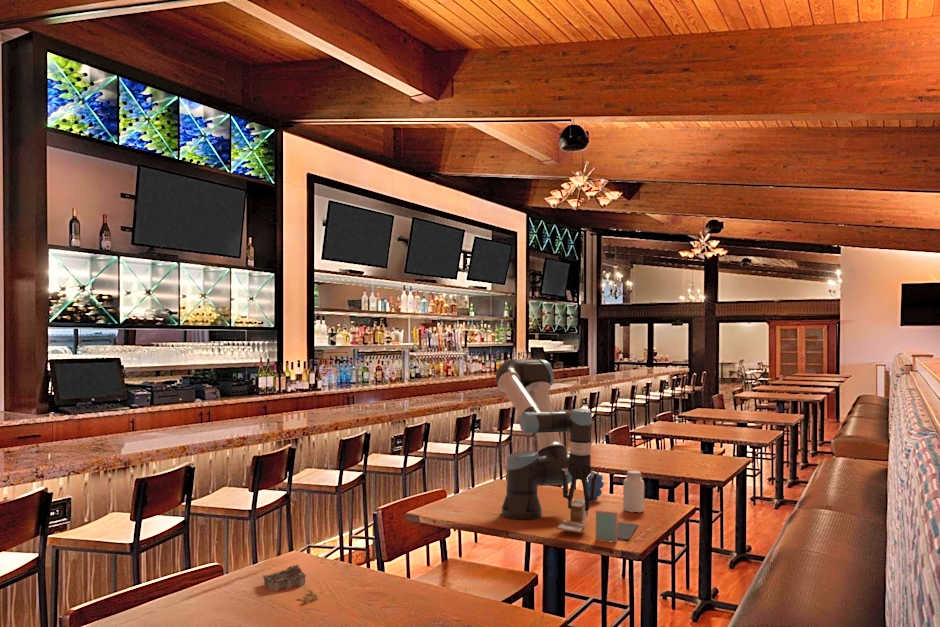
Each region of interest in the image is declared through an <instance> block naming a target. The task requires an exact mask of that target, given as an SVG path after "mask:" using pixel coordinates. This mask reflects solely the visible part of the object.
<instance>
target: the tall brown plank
mask: <svg viewBox="0 0 940 627" xmlns="http://www.w3.org/2000/svg"><path fill="white" fill-rule="evenodd" d="M584 500H585V498H581V497H578V498H577V499H575V502H574V503H573V504H572V505H571V509H570V520H567V519H564V520H563V521H562V522H561V523H560V524H559V525H558V526H557V528H556V529H557V530H560V531H567V532H573V533H574V532H575V533H581V532H583V530H584V529H585V528H586V526H587V525H588V522H584V521H582V514H583V501H584ZM588 512H589V510H588V511H586V518H588V516H589V515H588V514H589V513H588Z"/></svg>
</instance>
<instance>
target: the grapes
mask: <svg viewBox="0 0 940 627" xmlns="http://www.w3.org/2000/svg"><path fill="white" fill-rule="evenodd" d="M594 472H595V473H596V472H597V473H599V472H598V471H594ZM591 483H592V477H591V474H589V476H588V477H587V484H588V491H589V497H590V493H591ZM604 485H605V484H604V482H603V475H602V474H601V473H600V474H599V475H598V477H597V479H596V490H595V499H594V500H593V501H595V502H596V501H597V500H598V497H600V496H601V495H602V493H603V491H602V489H603V487H604ZM593 501H590V502H589V503H591V502H593Z"/></svg>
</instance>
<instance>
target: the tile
mask: <svg viewBox="0 0 940 627" xmlns="http://www.w3.org/2000/svg"><path fill="white" fill-rule="evenodd" d="M618 516H619V512H618V511H615V510H606V509H604V510H603V509H596V510H595V541H596V540H602V541H601V542H603V541H612V542H617V543H618V540H617V533H618V522H619V520H618V518H619V517H618Z"/></svg>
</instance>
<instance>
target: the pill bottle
mask: <svg viewBox="0 0 940 627" xmlns="http://www.w3.org/2000/svg"><path fill="white" fill-rule="evenodd" d="M626 473H627V474H626V478H625V479H624V480H623V484H622V485H623V491H622V494H623V495H622V496H623V497H622V498H623V500H622V501H623V504H622V508H623V511H625V512H627V511H629V512H628V513H633V512H638V513H642V512H644V511H645V481H644V480H643V479H642V472H641V471H639V470H628V471H627V472H626Z"/></svg>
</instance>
